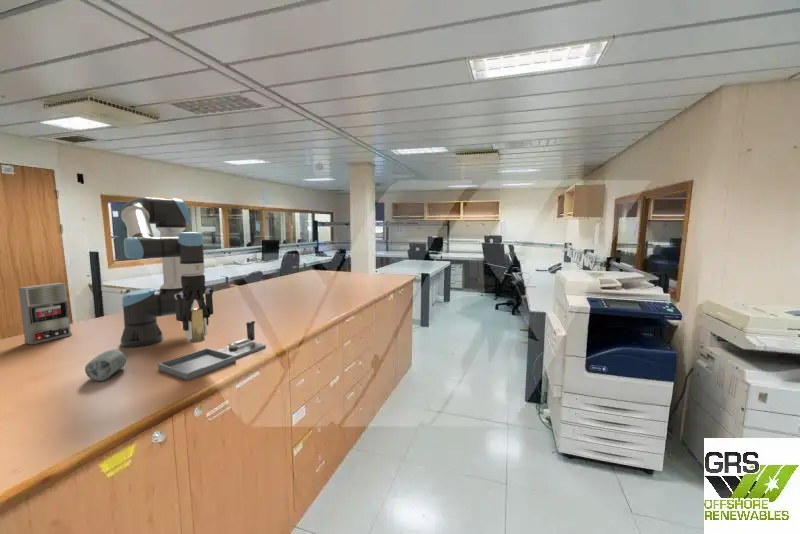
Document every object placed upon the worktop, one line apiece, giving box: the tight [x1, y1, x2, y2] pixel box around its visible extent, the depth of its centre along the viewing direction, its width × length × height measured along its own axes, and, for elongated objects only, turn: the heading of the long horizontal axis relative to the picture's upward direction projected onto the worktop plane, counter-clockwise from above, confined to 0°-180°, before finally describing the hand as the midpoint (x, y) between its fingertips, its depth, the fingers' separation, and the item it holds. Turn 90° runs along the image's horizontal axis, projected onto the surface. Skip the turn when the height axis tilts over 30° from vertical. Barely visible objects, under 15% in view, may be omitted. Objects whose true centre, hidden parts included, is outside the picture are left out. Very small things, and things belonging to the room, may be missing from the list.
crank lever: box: [228, 320, 256, 350], centre depth 145 cm, size 13×3×9 cm, turn 153°
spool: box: [84, 349, 127, 382], centre depth 118 cm, size 14×10×10 cm
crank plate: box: [217, 341, 267, 360], centre depth 142 cm, size 12×16×1 cm
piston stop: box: [188, 307, 206, 344], centre depth 125 cm, size 5×5×12 cm
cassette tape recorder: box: [18, 282, 73, 345], centre depth 152 cm, size 14×6×25 cm, turn 160°
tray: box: [157, 347, 237, 382], centre depth 126 cm, size 18×19×2 cm
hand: (196, 336), depth 125 cm, fingers closed on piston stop, 5 cm apart
